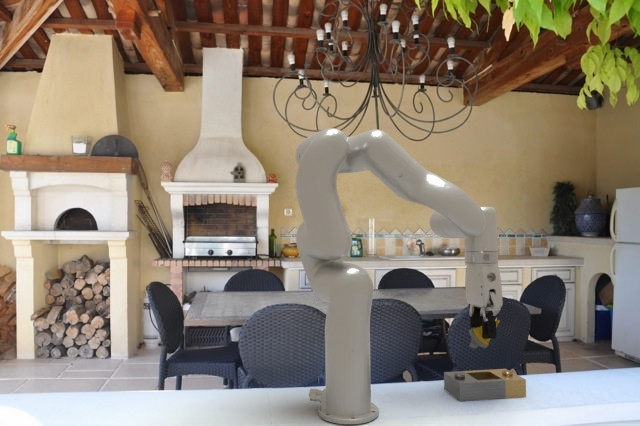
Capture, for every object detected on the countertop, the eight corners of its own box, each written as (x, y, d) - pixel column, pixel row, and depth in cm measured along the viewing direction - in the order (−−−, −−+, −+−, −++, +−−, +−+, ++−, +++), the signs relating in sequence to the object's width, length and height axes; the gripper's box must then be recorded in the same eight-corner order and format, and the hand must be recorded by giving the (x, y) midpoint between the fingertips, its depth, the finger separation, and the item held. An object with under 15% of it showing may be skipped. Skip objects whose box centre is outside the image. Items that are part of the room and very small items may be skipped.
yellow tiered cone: (474, 345, 123) (505, 319, 120) (479, 359, 118) (511, 333, 115) (458, 333, 122) (488, 307, 119) (462, 347, 117) (494, 320, 114)
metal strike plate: (460, 401, 113) (459, 380, 113) (444, 388, 122) (443, 369, 122) (526, 397, 116) (525, 376, 116) (505, 385, 125) (505, 366, 125)
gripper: (515, 260, 112) (517, 342, 111) (479, 256, 129) (481, 327, 128) (483, 261, 111) (485, 344, 110) (451, 257, 128) (453, 329, 127)
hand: (483, 334), depth 119 cm, fingers closed on yellow tiered cone, 5 cm apart
